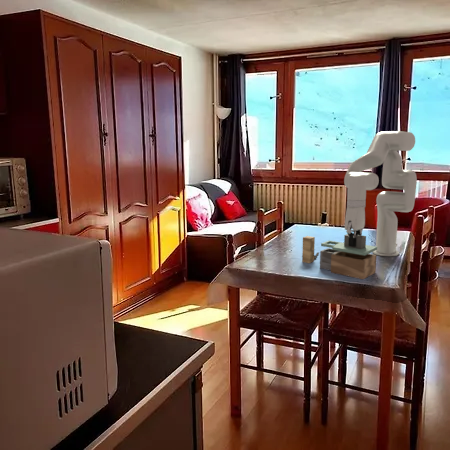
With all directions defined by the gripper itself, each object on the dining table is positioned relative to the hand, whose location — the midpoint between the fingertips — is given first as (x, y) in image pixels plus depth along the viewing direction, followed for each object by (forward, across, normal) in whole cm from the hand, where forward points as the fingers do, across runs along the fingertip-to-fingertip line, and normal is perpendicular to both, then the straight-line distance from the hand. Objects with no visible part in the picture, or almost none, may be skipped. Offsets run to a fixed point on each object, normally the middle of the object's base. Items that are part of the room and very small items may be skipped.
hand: (354, 244), depth 186 cm
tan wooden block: (+12, -1, -24) cm, 27 cm away
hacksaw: (+13, -15, -32) cm, 38 cm away
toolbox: (+12, +1, -4) cm, 13 cm away
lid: (+2, 0, -3) cm, 4 cm away
